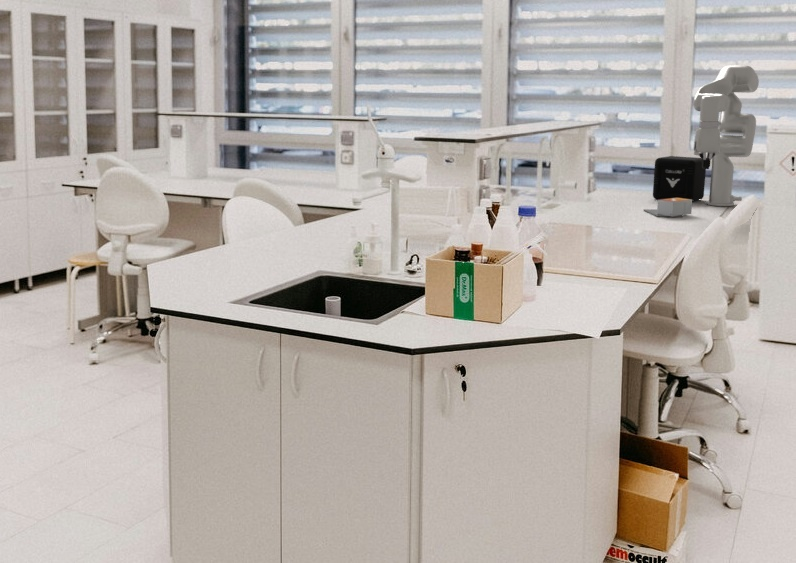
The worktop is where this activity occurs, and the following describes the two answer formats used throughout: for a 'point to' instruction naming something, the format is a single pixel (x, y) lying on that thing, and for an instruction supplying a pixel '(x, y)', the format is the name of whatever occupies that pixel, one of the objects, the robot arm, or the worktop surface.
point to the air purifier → (679, 178)
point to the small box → (674, 206)
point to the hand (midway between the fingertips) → (705, 168)
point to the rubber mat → (654, 212)
